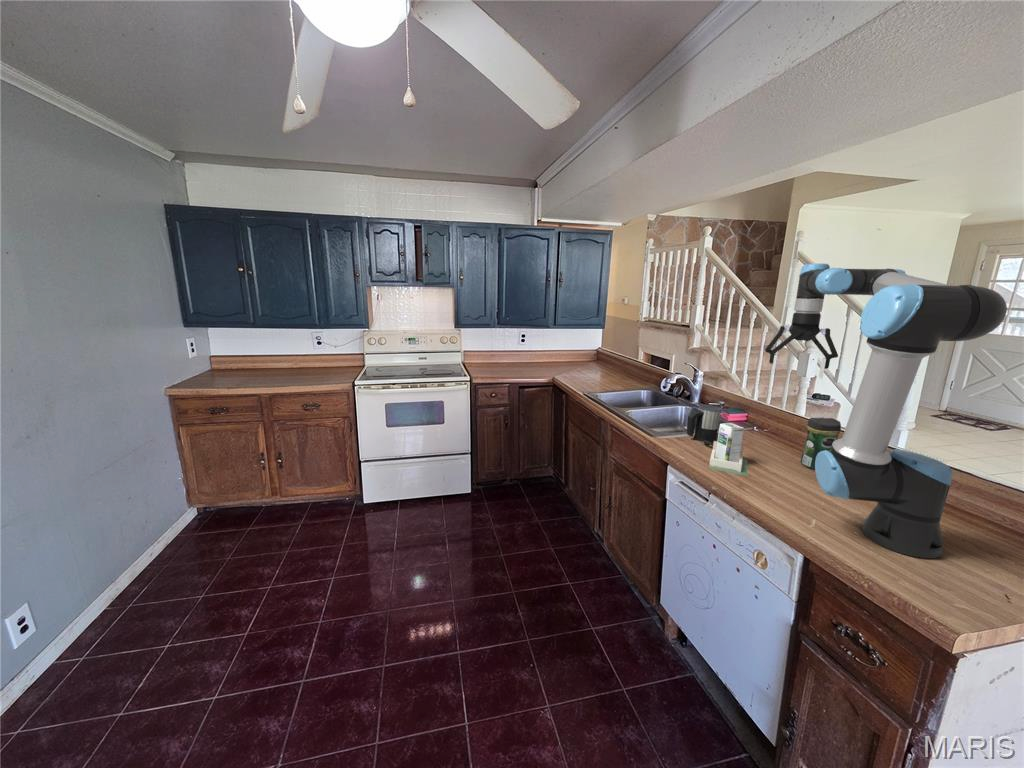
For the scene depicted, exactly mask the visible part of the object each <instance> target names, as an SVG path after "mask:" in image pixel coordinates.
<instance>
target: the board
mask: <svg viewBox="0 0 1024 768" xmlns="http://www.w3.org/2000/svg"><path fill="white" fill-rule="evenodd" d="M748 464H749V462H748V459H743V458H742V467H741V472H736V471H731V470H726V469H721V468H716V467H711V466H709V465H708V469H711V470H716V471H721V472H724V473H725V472H726V473H730V474H735V475H740V476H745V477H747V476H748Z"/></svg>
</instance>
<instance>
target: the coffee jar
mask: <svg viewBox="0 0 1024 768" xmlns="http://www.w3.org/2000/svg"><path fill="white" fill-rule="evenodd" d="M841 427H842V424H841V421H840V420H837V419H836V418H832V417H810V418H809V419H808V421H807V424H806V429H807V437H806V441H805V445H804V448H803V451H802V454H801V458H800V463H801V464H802V466H803V467H806V468H810V469H811V470H815V460H816V456H817V454H818V453H819V452H821V451H824V450H827V451H830V449H831V447H832V444H833V442H834V441H835V440H837V439H838V437H839V435H840V434H841V430H842V429H841Z"/></svg>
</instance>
